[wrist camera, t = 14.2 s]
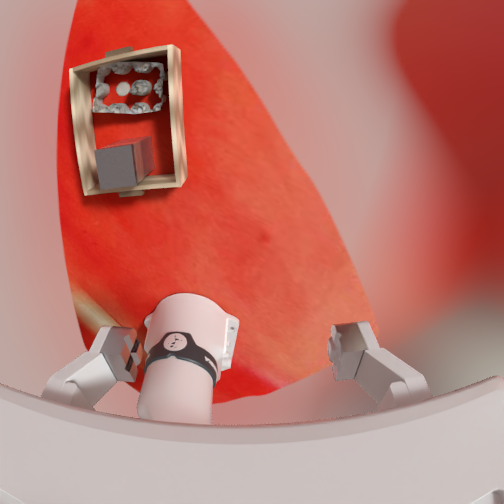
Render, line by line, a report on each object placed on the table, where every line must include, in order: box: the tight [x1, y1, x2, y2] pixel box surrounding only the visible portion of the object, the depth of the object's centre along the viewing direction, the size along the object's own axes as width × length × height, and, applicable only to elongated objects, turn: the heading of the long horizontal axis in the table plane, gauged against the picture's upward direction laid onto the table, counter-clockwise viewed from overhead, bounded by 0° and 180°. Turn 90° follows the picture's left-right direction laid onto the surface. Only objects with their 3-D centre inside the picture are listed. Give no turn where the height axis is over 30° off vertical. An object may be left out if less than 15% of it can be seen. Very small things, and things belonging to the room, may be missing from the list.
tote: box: [69, 44, 188, 197], centre depth 35 cm, size 21×15×5 cm
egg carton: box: [91, 62, 168, 114], centre depth 33 cm, size 11×8×4 cm
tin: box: [94, 136, 155, 190], centre depth 36 cm, size 5×5×8 cm
